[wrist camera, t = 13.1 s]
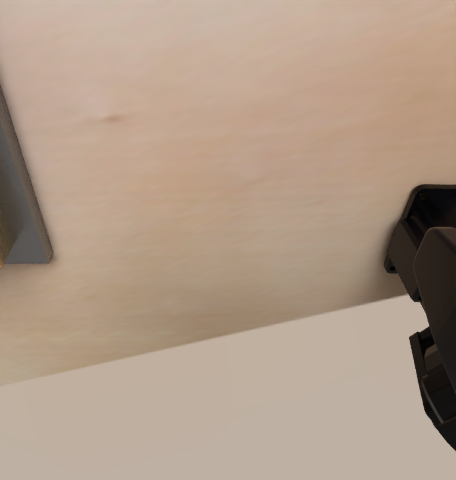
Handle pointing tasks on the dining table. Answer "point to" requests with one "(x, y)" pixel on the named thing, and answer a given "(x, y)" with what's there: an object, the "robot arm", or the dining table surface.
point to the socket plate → (18, 203)
